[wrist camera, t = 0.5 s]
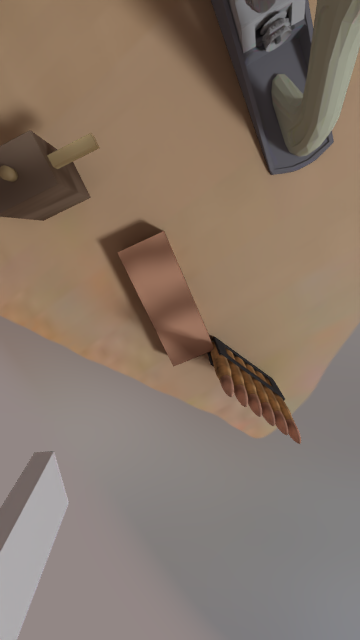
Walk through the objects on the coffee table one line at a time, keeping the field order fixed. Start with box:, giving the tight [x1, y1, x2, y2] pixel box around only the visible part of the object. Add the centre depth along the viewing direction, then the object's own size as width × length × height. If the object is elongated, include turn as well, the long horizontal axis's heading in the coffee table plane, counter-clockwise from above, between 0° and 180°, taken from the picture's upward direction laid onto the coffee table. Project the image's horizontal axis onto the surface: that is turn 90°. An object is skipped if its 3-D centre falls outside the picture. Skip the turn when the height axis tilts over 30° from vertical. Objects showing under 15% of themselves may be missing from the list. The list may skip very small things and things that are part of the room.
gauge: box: [0, 131, 99, 221], centre depth 25 cm, size 4×10×10 cm, turn 114°
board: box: [117, 231, 214, 366], centre depth 33 cm, size 15×6×2 cm, turn 23°
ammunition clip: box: [208, 337, 301, 444], centre depth 32 cm, size 11×2×12 cm, turn 53°
